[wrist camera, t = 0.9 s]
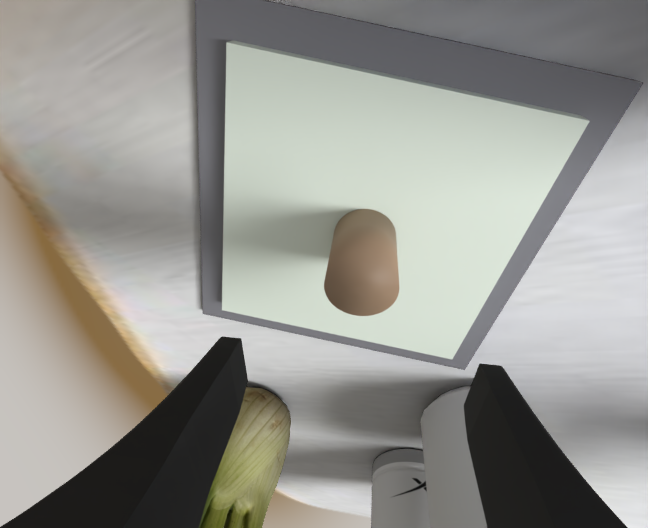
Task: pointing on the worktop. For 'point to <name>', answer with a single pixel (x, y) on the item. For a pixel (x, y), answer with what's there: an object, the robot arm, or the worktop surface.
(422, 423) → the can
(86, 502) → the robot arm
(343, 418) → the worktop surface
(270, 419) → the fennel bulb
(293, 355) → the worktop surface
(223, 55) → the mat
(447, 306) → the lid
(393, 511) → the travel mug
